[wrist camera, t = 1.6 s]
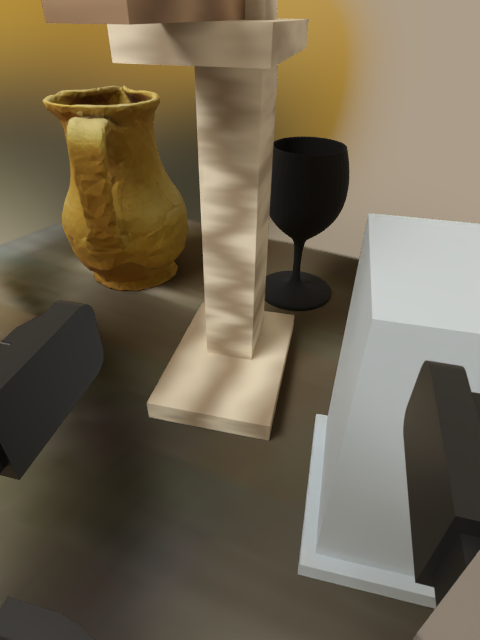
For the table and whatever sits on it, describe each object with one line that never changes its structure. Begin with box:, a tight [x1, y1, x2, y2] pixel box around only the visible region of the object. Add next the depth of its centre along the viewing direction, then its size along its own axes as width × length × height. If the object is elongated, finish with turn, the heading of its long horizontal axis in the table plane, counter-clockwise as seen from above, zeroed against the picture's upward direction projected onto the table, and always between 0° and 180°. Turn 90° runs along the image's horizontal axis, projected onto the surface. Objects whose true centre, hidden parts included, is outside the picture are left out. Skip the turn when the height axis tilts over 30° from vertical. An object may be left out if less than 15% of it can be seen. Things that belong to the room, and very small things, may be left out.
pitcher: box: [43, 86, 188, 291], centre depth 57 cm, size 17×19×25 cm
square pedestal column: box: [107, 19, 308, 441], centre depth 38 cm, size 12×18×32 cm, turn 167°
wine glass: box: [265, 137, 349, 311], centre depth 55 cm, size 10×10×20 cm
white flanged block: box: [298, 213, 480, 609], centre depth 28 cm, size 10×14×22 cm
